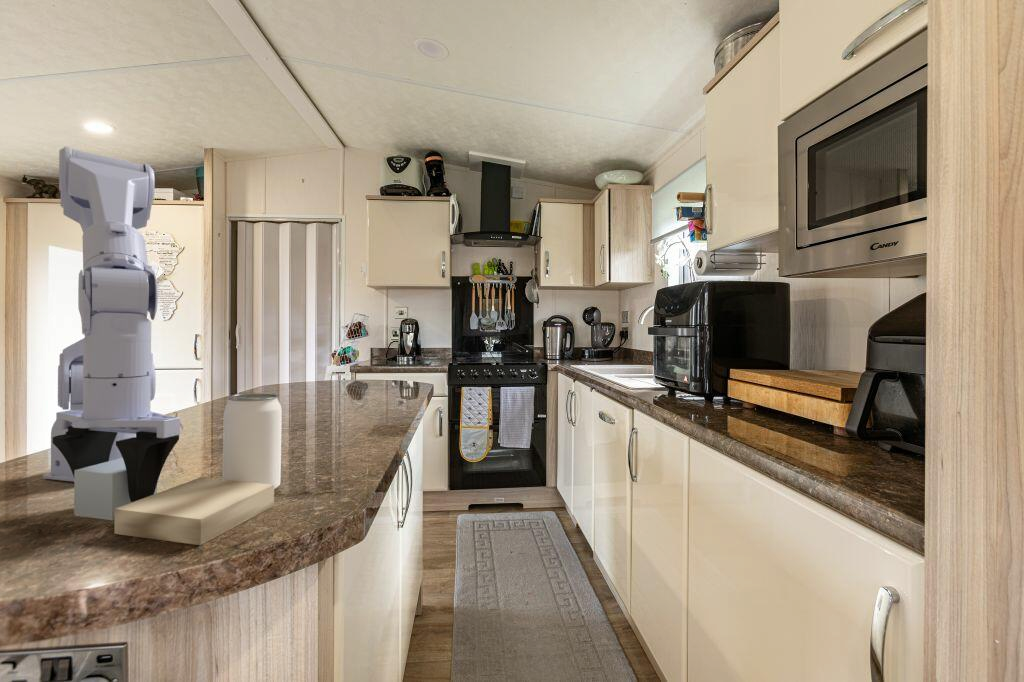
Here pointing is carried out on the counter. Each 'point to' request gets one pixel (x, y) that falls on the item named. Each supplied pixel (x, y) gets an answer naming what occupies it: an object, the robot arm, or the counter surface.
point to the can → (252, 439)
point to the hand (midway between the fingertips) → (117, 496)
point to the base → (194, 510)
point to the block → (101, 489)
